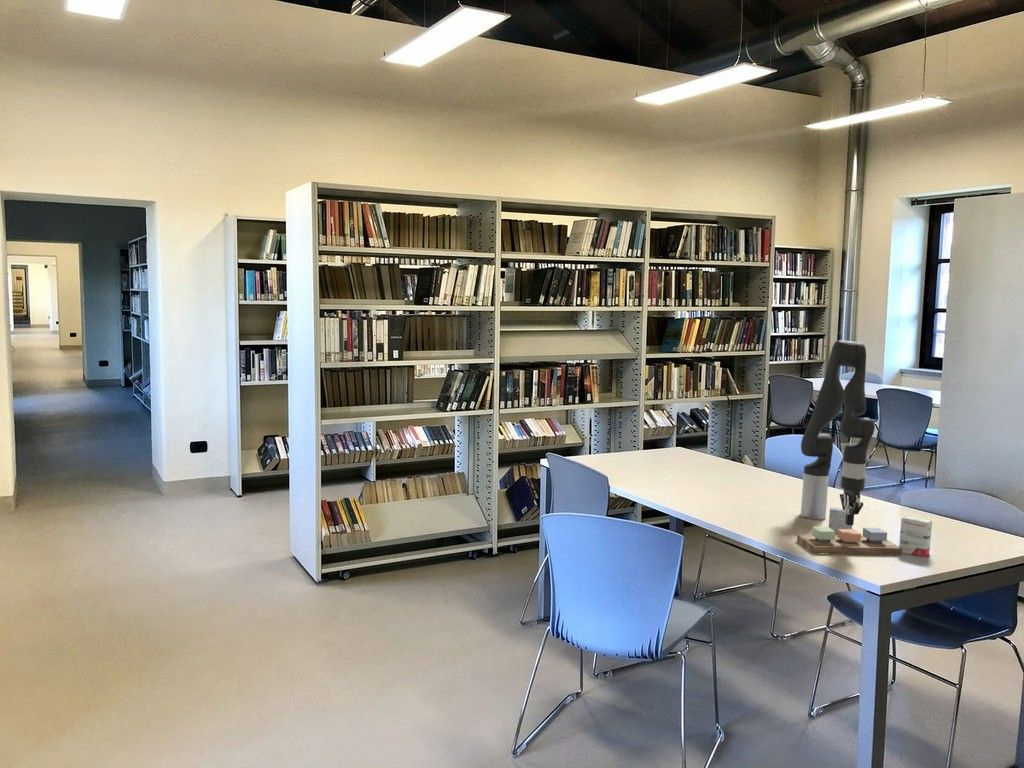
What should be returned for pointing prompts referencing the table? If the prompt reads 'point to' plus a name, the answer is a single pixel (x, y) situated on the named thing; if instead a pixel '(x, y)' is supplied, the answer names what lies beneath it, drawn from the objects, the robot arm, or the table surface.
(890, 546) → the button board
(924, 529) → the ink box
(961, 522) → the table surface
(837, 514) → the medicine box
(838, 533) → the terracotta button
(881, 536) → the slate button
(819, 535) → the sage button
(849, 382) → the robot arm
